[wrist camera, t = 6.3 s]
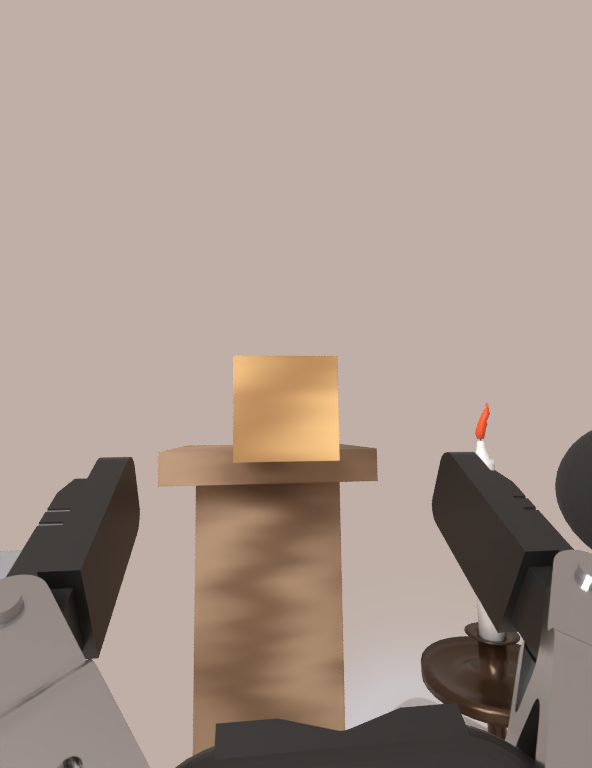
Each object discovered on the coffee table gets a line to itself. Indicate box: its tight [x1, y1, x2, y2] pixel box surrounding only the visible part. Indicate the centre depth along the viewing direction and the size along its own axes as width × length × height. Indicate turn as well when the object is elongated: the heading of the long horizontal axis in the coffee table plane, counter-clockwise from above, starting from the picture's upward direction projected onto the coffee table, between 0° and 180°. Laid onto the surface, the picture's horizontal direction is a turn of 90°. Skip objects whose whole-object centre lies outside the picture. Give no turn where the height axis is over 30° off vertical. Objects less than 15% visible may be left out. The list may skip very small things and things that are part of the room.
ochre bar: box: [233, 356, 340, 463], centre depth 23 cm, size 3×22×3 cm, turn 7°
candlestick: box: [421, 403, 521, 740], centre depth 35 cm, size 11×11×35 cm
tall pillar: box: [158, 444, 378, 756], centre depth 24 cm, size 11×11×32 cm
